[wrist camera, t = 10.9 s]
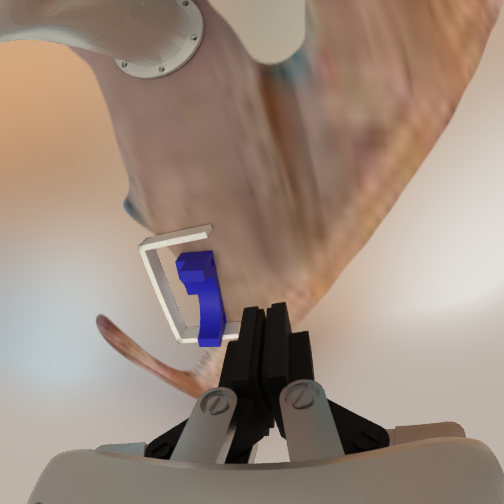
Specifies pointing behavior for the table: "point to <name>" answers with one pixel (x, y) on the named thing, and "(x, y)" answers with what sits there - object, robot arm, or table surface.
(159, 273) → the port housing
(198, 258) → the cable clip
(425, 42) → the table surface
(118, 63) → the robot arm
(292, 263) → the table surface
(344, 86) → the table surface
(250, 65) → the table surface
